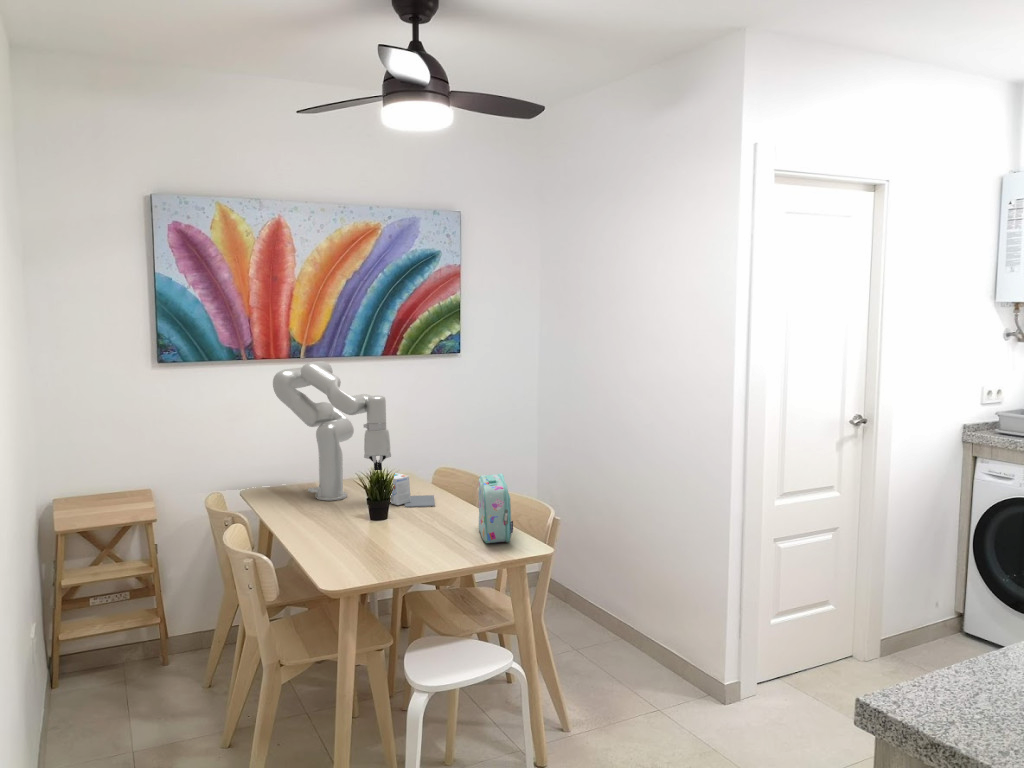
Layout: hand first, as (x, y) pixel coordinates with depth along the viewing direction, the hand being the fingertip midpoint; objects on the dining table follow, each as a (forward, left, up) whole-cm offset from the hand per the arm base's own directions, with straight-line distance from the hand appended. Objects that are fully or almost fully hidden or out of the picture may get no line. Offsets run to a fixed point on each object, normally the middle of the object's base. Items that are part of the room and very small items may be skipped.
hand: (378, 472), depth 313 cm
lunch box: (+42, -48, -13) cm, 65 cm away
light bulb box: (+8, 0, -13) cm, 15 cm away
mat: (+16, 0, -13) cm, 21 cm away
